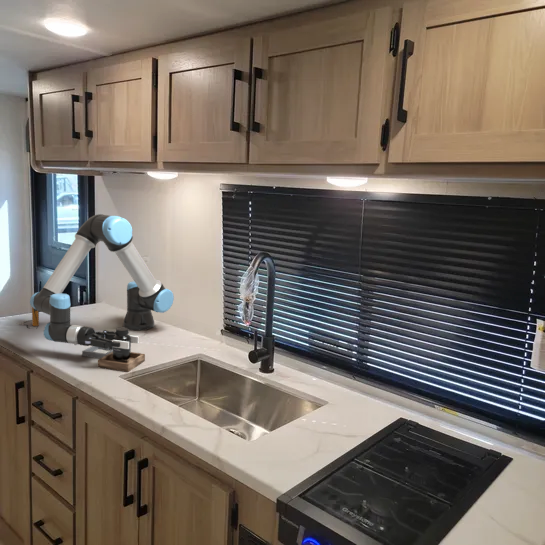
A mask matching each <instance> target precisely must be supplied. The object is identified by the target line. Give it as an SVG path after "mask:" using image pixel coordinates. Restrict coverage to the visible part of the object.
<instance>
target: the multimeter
mask: <svg viewBox="0 0 545 545" xmlns="http://www.w3.org/2000/svg"><path fill="white" fill-rule="evenodd" d="M36 288H37V283H35V284H34V287H33V290H34V294H35V293H36ZM39 312H40V311H37V310H36V309H34V308H33V307H32V306H31V315H32V317H31V318H32V320H30V322H31V323H32V327H36V329H38V327H39V326H40V315H39V314H40V313H39ZM27 322H28V320H26V321H25V320H24V321H23V322H22V323H16V324H17V325H20V326H26V328H27V329H29V327H28V326H29V325H28V324H24V323H27Z"/></svg>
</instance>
